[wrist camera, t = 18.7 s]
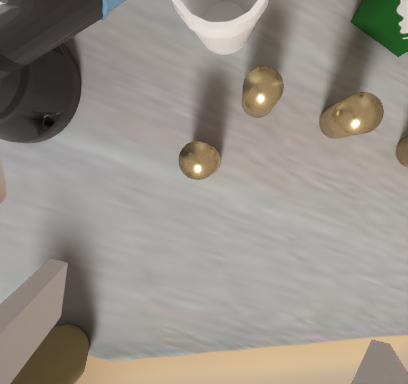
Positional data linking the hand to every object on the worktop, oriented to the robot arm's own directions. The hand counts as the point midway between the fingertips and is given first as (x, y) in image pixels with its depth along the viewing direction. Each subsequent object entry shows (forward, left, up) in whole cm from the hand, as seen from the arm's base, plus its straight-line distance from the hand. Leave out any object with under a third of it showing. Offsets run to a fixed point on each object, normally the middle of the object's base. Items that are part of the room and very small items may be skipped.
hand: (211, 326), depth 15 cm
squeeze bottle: (+21, -21, -31) cm, 43 cm away
